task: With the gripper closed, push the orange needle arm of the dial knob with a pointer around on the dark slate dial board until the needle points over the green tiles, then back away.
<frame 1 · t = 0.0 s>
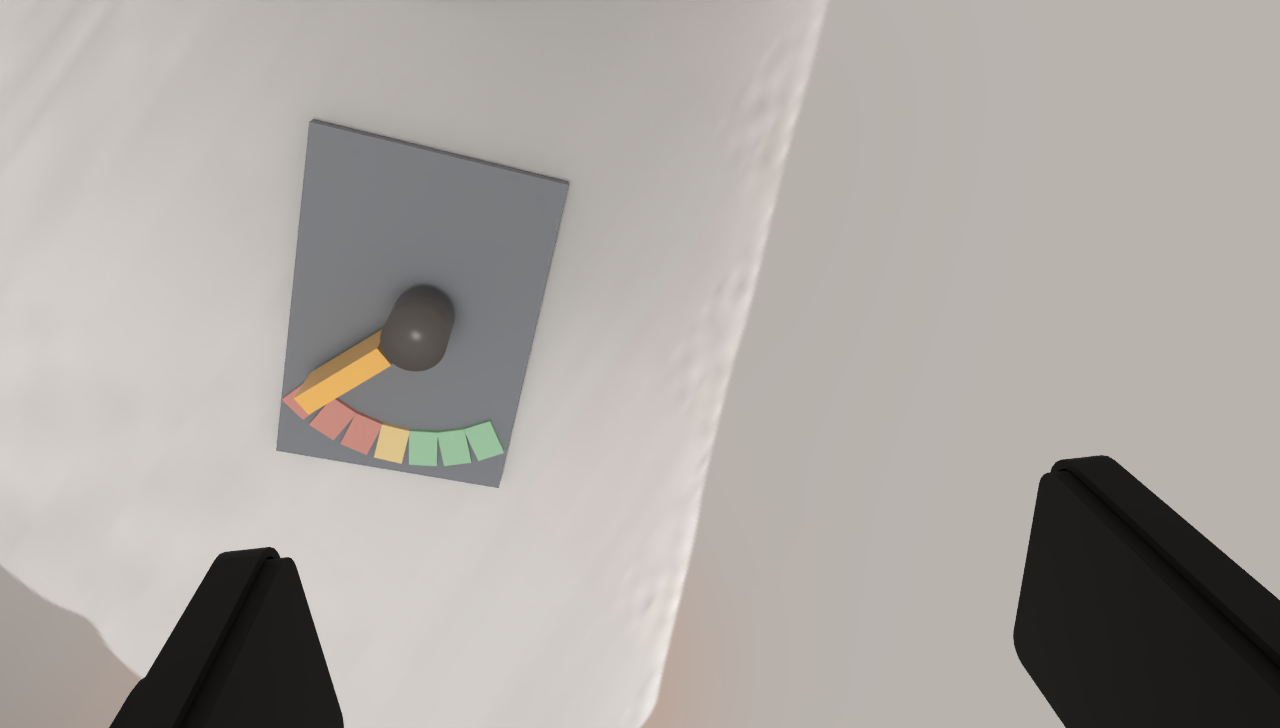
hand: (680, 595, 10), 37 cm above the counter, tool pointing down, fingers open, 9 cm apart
dial knob with pointer: (375, 354, 45), point 3 cm above the counter, hinge at 0.0°
dial board: (476, 332, 48), on the counter
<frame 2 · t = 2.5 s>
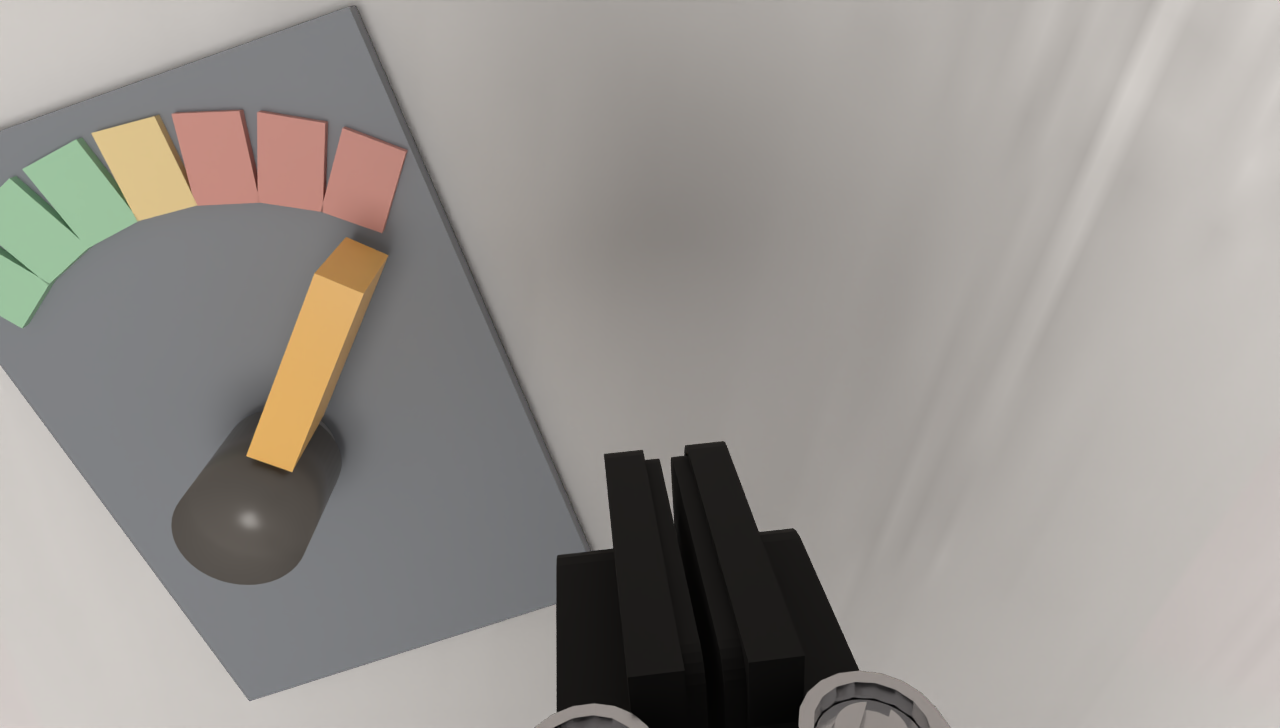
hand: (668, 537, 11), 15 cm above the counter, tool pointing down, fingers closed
dial knob with pointer: (295, 411, 22), point 3 cm above the counter, hinge at 0.0°
dial board: (195, 438, 26), on the counter
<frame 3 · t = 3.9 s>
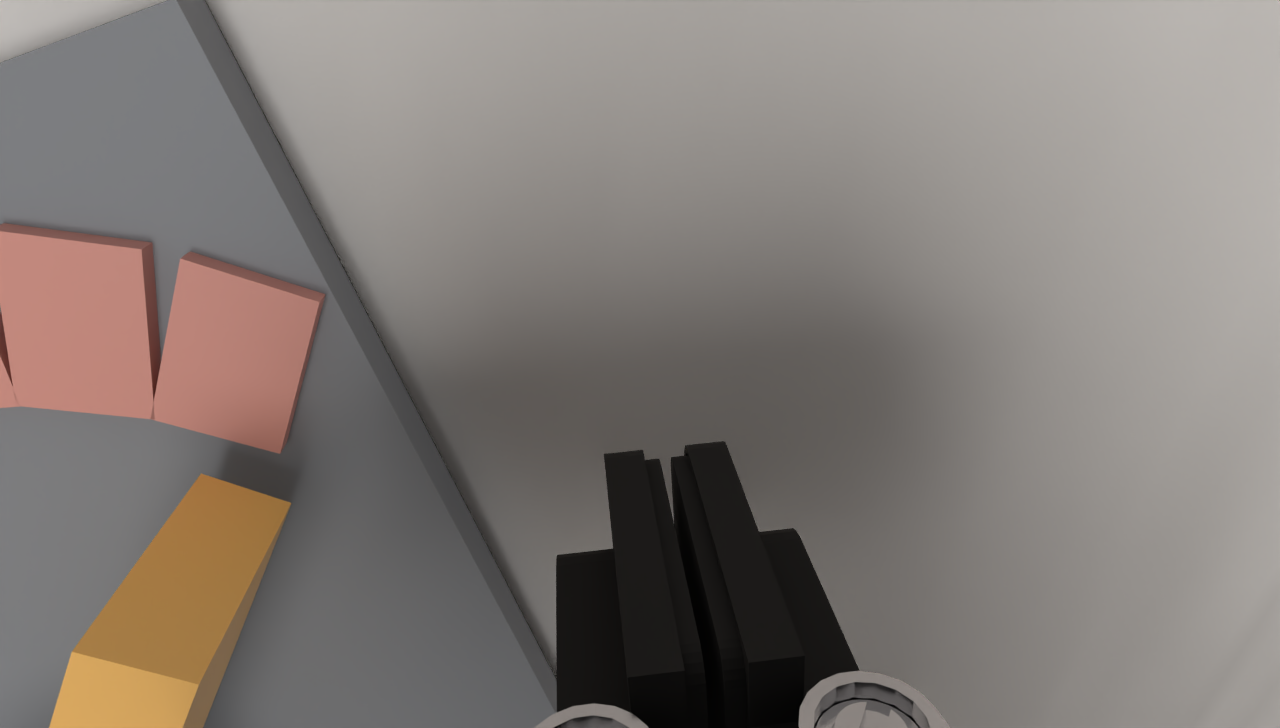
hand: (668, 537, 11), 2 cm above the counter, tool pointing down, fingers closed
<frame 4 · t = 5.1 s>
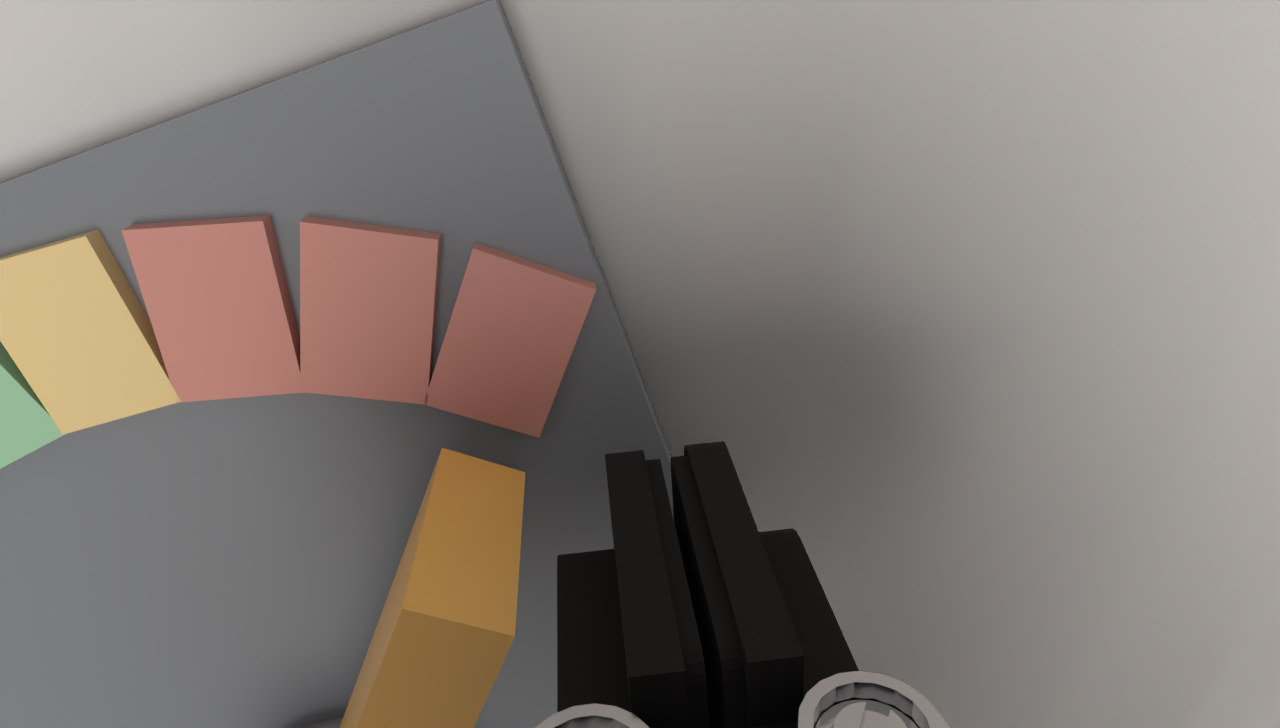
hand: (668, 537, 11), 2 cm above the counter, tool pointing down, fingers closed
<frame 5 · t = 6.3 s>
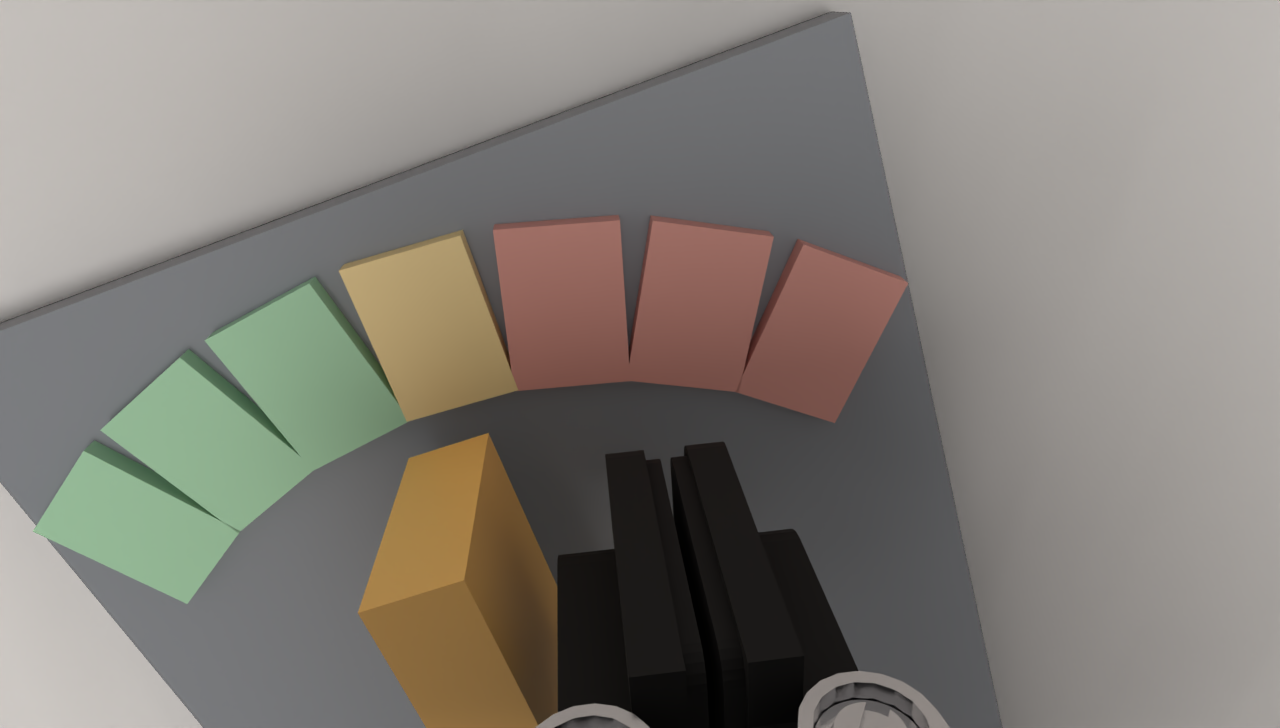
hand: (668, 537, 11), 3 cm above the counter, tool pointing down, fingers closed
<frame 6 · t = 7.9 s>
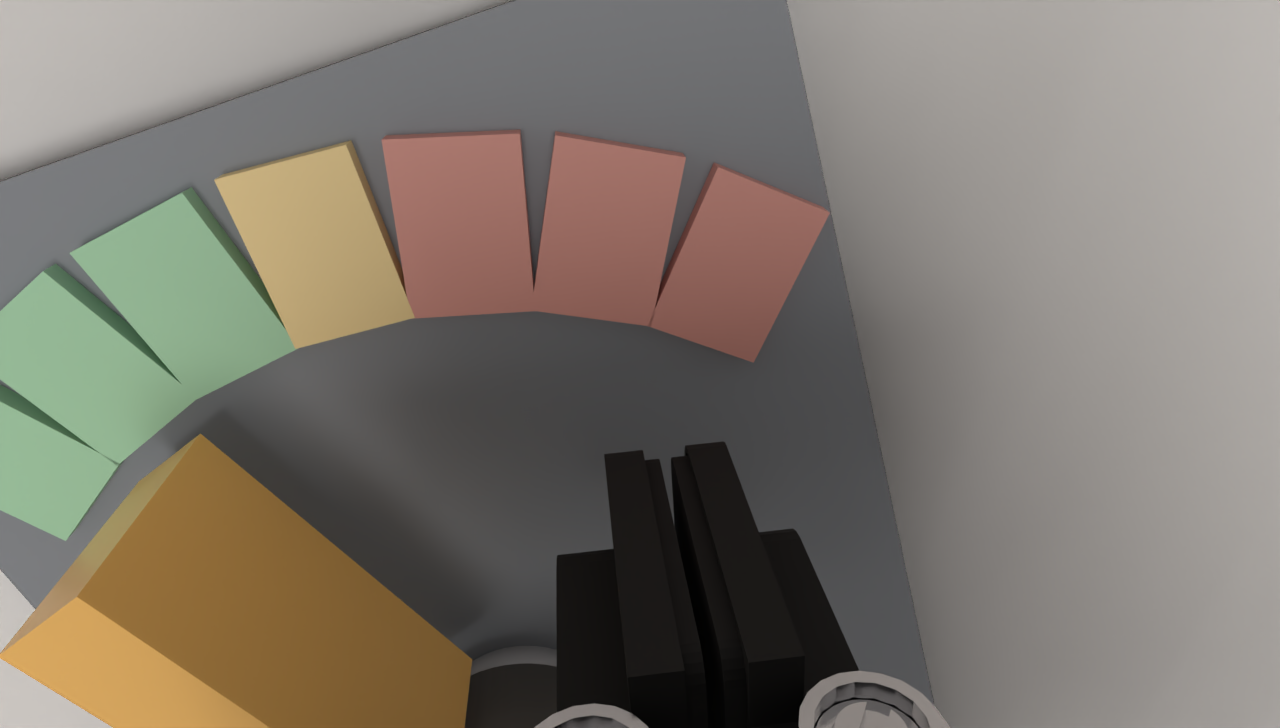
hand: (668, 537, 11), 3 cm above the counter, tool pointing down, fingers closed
dial board: (355, 680, 15), on the counter
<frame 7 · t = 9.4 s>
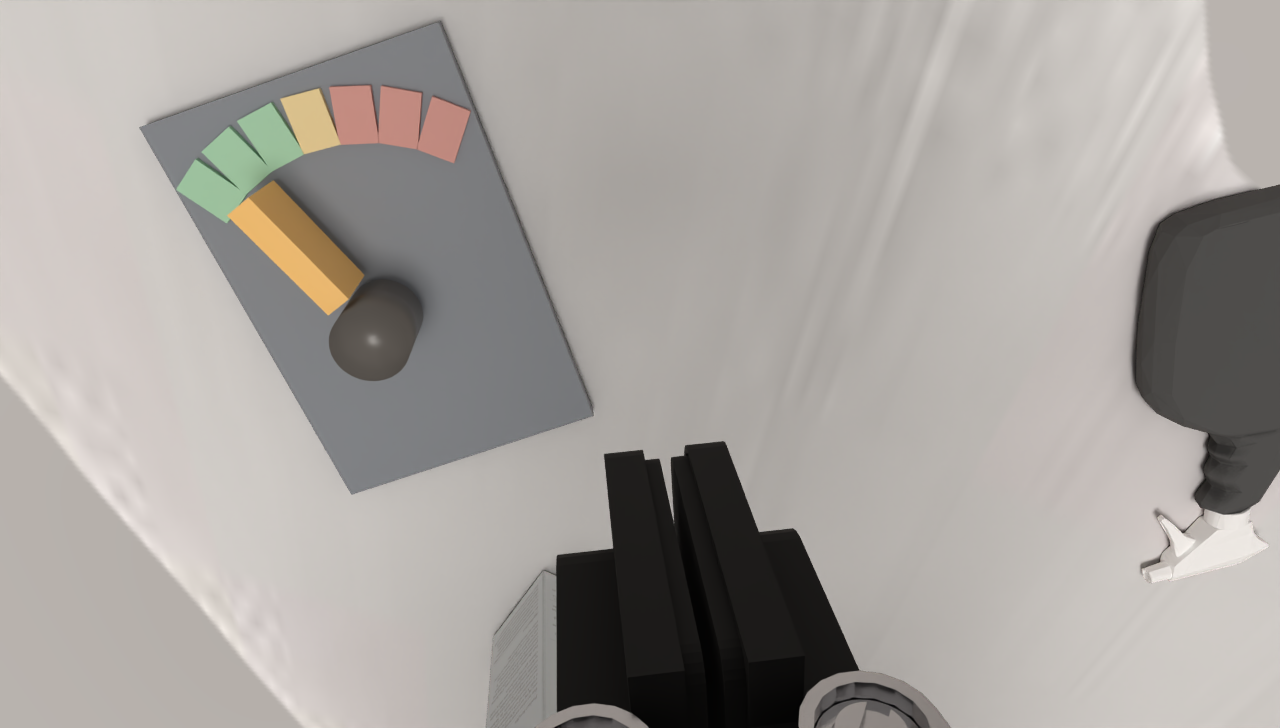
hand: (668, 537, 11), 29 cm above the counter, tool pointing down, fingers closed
dial knob with pointer: (331, 280, 36), point 3 cm above the counter, hinge at 63.5°
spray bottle: (1209, 392, 47), on the counter
skincare box: (548, 612, 49), on the counter
dial board: (325, 303, 39), on the counter
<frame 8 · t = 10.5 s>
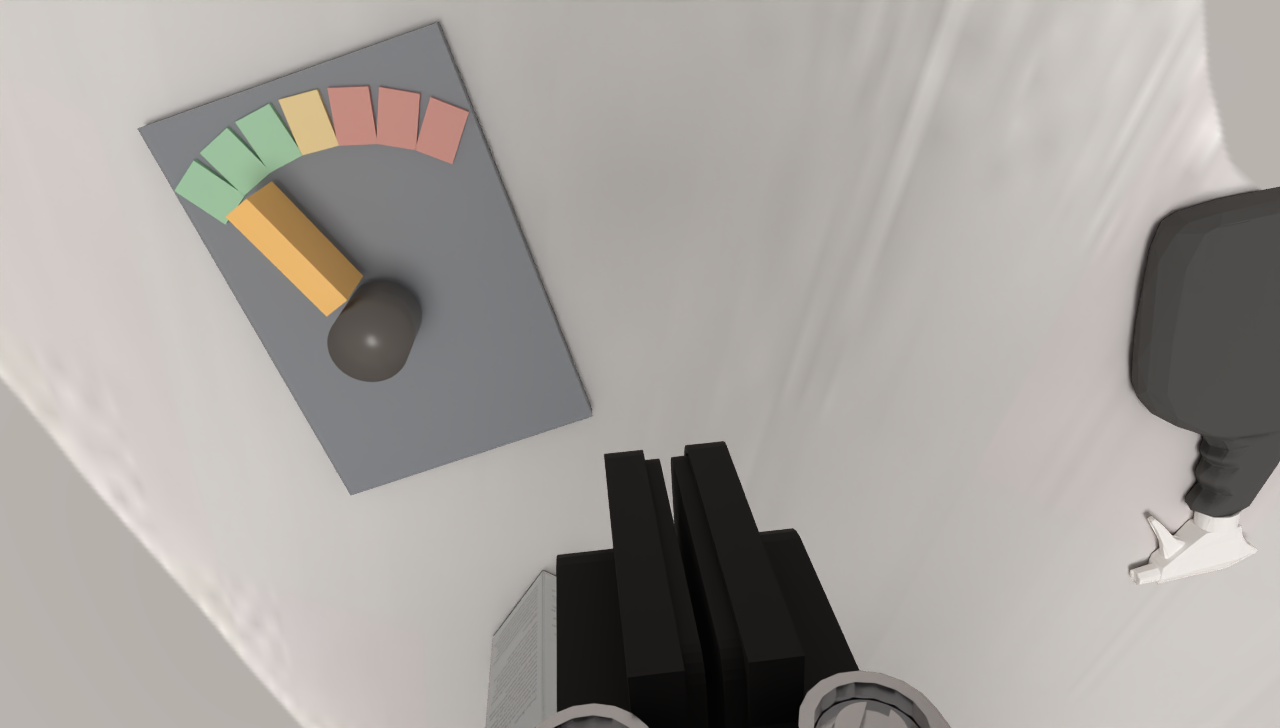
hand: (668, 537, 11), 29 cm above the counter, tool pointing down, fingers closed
dial knob with pointer: (329, 281, 36), point 3 cm above the counter, hinge at 63.5°
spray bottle: (1203, 394, 47), on the counter
skincare box: (547, 613, 49), on the counter
dial board: (324, 304, 39), on the counter
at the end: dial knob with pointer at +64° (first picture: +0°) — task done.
